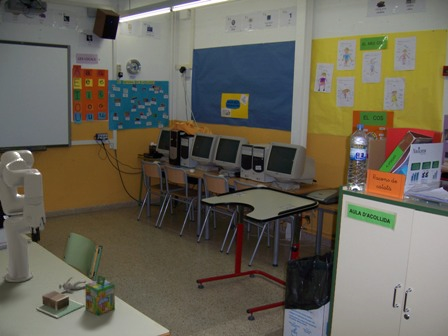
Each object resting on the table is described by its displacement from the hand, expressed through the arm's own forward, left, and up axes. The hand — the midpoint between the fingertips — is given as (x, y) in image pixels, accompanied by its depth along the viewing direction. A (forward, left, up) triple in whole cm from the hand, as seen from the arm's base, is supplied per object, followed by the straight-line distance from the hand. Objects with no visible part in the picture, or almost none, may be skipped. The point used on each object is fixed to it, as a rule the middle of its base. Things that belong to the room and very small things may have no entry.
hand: (35, 240), depth 208 cm
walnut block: (+7, 0, -25) cm, 26 cm away
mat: (+15, 0, -27) cm, 31 cm away
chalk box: (+30, +9, -27) cm, 42 cm away
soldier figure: (+4, +15, -27) cm, 32 cm away
